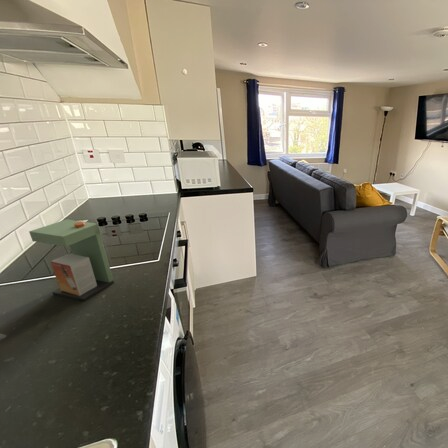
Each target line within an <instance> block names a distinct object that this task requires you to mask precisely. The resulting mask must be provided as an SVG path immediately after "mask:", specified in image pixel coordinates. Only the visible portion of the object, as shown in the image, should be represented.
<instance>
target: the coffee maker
mask: <svg viewBox="0 0 448 448" xmlns="http://www.w3.org/2000/svg"><path fill="white" fill-rule="evenodd" d="M28 232H29V235H30V238H31V240H32V242H36V243H42V244H47V245H48V244H49V245H54V246H61V247H69V248H70V252H71V254H75V255H80V256H84V257H89V259H90V262H91V266H92V269H93V273H94V276H95V280H96V283H97V286H96V287H95V288H93V289H91V290H89V291H87V292H86V293H84V294H82V295H81V296H78V295H75V294H72V293H68V292H64V291H61V290H60V288H59V287H58V288H57V289H55V290H53V291H52V295H53V296H58V297H62V298H67V299H72V300H76V301H80V302H81V301H83V302H86V301H88V300H89V299H91V298H93V297H94V296H95V295H97V294H98V293H100V292H102V291H103V290H105V289H107V288H108V287H110V286H111V285H112V284H114V283H115V281H114V277H113V273H112V270H111V267H110V263H109V259H108V256H107V252H106V248H105V245H104V241H103V237H102V234H101V230H100V226H99V223H96V222H89V221H81V220H73V219H63V220H61V221H58V222H55V223H51V224H48V225H45V226H42V227H38V228H36V229H35V228H34V229H33V230H29V231H28Z"/></svg>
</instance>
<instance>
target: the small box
mask: <svg viewBox="0 0 448 448" xmlns="http://www.w3.org/2000/svg"><path fill="white" fill-rule="evenodd" d="M50 265H51V268H52V270H53V273H54V276H55V279H56V282H57V285H58V289H59V288H60V290H61V291H64V292H68V293H72V294H75V295H78V296H81V295H82V294H84V293H86V292H87V291H89V290H91V289H93V288H95V287H96V286H97V283H96V280H95V276H94V273H93V269H92V266H91V262H90V259H89V257H84V256H80V255H75V254H72V252H71V253H70V252H69V253H67V254H65V255H62V256H59V257H57V258H55V259H52V260H50Z"/></svg>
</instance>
